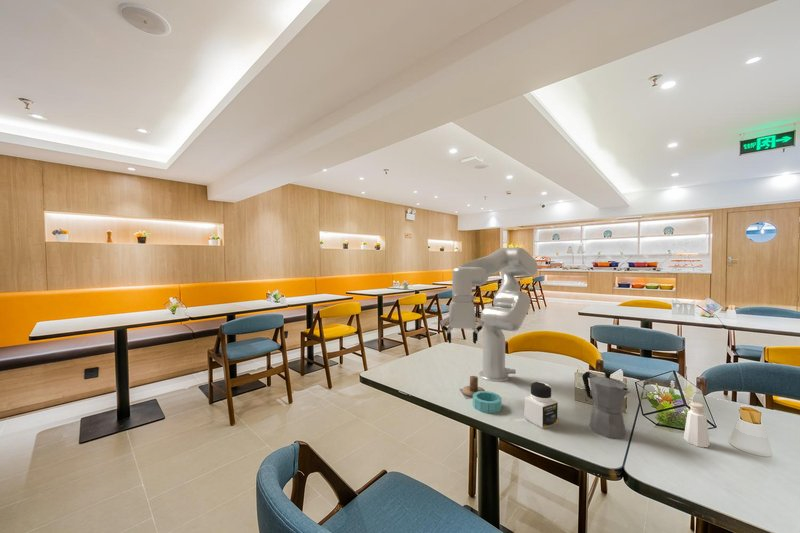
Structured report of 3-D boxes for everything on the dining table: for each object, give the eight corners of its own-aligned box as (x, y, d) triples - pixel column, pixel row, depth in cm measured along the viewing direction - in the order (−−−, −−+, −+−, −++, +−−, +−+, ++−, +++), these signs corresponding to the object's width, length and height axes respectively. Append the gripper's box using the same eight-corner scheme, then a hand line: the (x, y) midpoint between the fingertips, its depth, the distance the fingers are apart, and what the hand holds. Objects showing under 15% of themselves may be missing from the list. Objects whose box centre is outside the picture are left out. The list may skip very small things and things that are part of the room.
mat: (480, 389, 123) (480, 388, 123) (489, 399, 114) (489, 397, 114) (459, 390, 122) (459, 388, 122) (465, 400, 113) (466, 398, 113)
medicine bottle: (542, 429, 93) (543, 390, 93) (523, 418, 100) (524, 382, 100) (557, 423, 97) (558, 386, 97) (538, 413, 103) (538, 378, 103)
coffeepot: (641, 440, 88) (641, 378, 88) (615, 445, 85) (616, 381, 85) (593, 414, 103) (594, 361, 102) (571, 418, 100) (571, 363, 100)
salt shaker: (682, 434, 91) (683, 398, 91) (708, 441, 87) (708, 403, 87) (684, 443, 86) (684, 404, 86) (711, 450, 83) (711, 410, 83)
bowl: (494, 401, 112) (494, 390, 112) (505, 414, 103) (506, 402, 103) (469, 402, 111) (469, 391, 111) (478, 415, 102) (478, 403, 102)
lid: (480, 388, 122) (480, 373, 122) (488, 397, 114) (488, 381, 114) (459, 389, 122) (459, 373, 122) (466, 398, 113) (466, 381, 113)
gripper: (482, 298, 123) (482, 340, 123) (439, 297, 124) (439, 339, 124) (486, 300, 115) (486, 345, 115) (440, 300, 116) (440, 344, 116)
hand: (462, 342), depth 120 cm, fingers open, 9 cm apart
